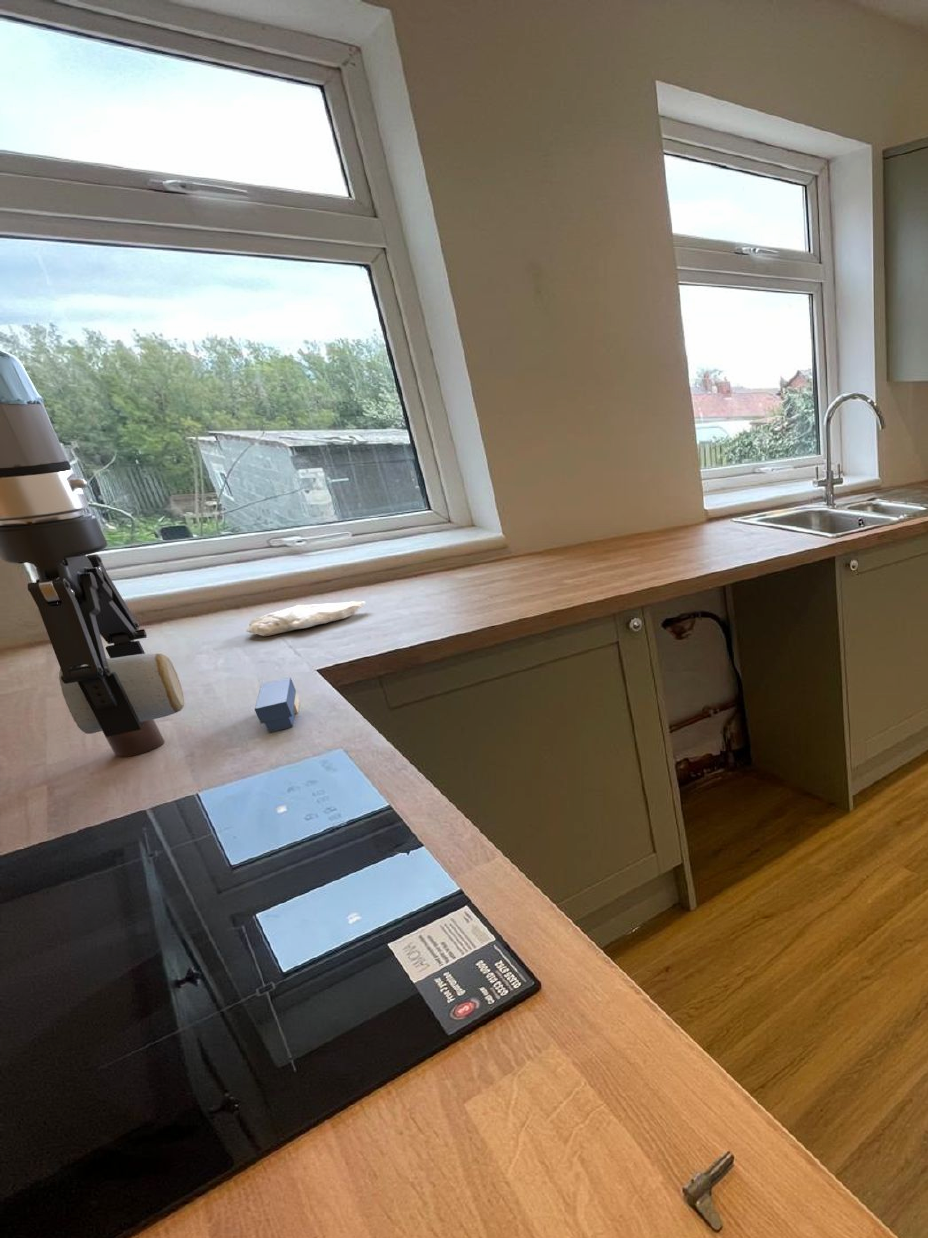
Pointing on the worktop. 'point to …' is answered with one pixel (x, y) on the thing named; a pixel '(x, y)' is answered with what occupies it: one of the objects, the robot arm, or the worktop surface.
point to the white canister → (132, 690)
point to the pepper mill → (136, 740)
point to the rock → (302, 617)
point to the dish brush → (277, 704)
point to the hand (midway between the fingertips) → (136, 712)
